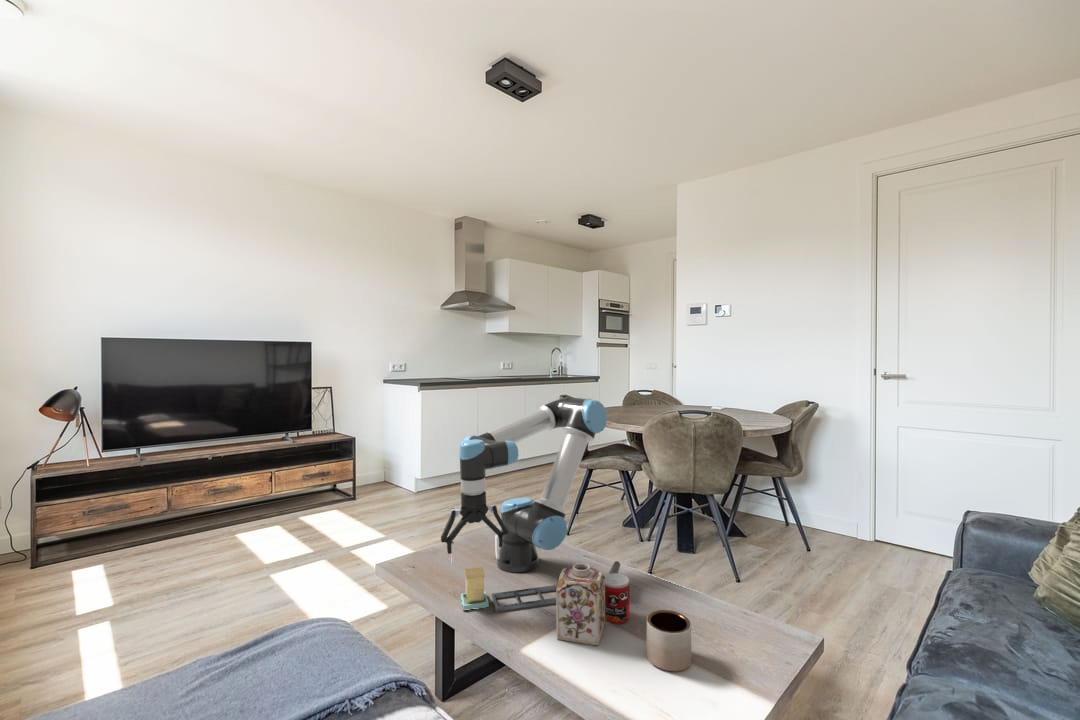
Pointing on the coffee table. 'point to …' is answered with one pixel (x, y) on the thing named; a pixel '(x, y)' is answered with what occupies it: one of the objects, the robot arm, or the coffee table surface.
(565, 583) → the decorative jar
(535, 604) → the rail
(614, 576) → the canned food
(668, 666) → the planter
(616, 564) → the portable electronic device stand
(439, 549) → the coffee table surface
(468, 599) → the block
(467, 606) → the parts tray
